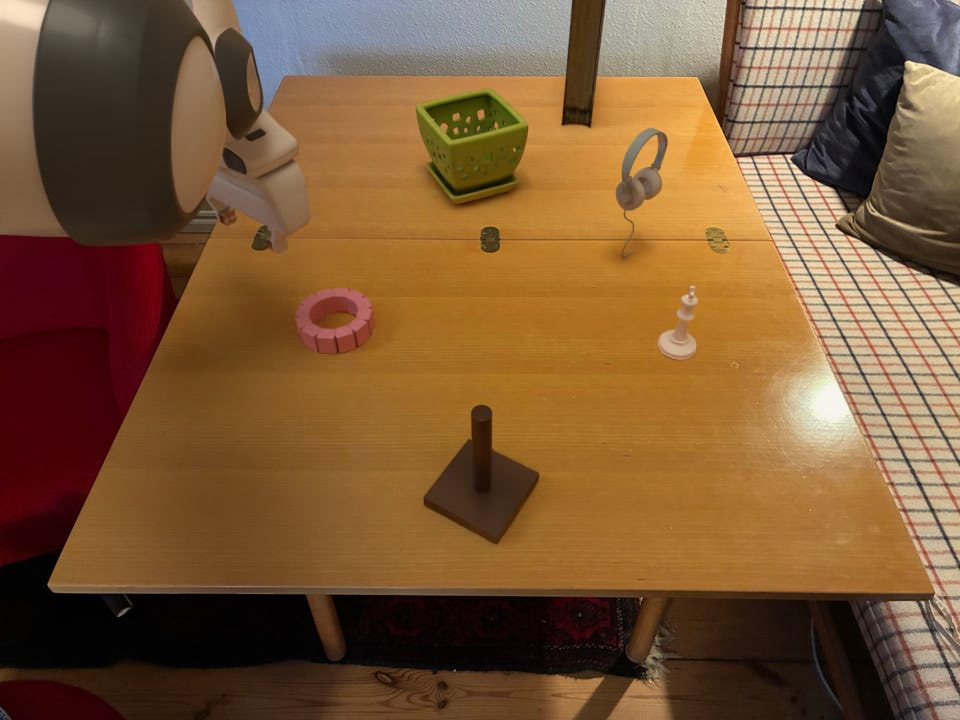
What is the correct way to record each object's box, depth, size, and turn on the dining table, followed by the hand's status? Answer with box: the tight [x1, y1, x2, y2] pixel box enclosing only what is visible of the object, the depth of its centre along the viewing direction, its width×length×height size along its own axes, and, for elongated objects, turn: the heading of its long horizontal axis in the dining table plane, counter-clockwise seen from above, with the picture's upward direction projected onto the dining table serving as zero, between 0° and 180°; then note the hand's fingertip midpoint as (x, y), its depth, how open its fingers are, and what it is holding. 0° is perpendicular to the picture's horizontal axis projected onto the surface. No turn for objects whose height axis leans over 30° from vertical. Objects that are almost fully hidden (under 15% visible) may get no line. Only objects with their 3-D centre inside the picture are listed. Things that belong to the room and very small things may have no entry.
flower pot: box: [415, 87, 529, 205], centre depth 112 cm, size 14×14×13 cm
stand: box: [422, 404, 540, 545], centre depth 70 cm, size 9×9×14 cm
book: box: [561, 0, 607, 128], centre depth 126 cm, size 16×6×25 cm, turn 171°
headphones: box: [615, 127, 669, 259], centre depth 95 cm, size 8×4×20 cm, turn 134°
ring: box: [294, 287, 376, 355], centre depth 92 cm, size 10×10×3 cm
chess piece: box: [656, 285, 699, 361], centre depth 86 cm, size 5×5×10 cm
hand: (253, 235), depth 84 cm, fingers open, 8 cm apart
